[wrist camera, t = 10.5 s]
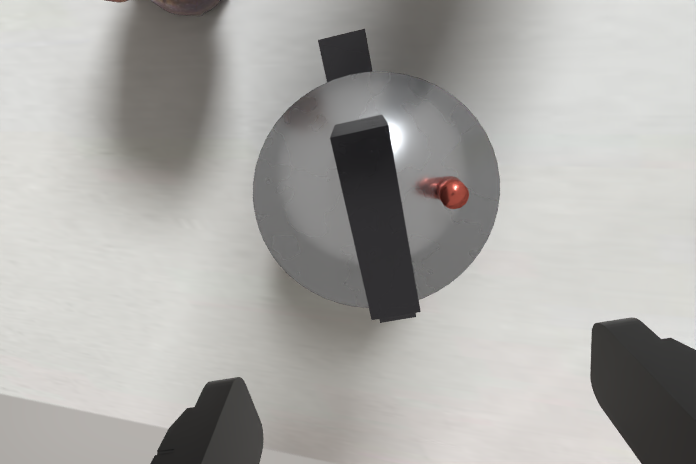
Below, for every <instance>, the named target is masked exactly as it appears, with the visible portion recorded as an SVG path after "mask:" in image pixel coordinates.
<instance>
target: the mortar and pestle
mask: <svg viewBox="0 0 696 464" xmlns="http://www.w3.org/2000/svg"><path fill="white" fill-rule="evenodd" d="M106 1H112V2H125V1H128V0H106ZM151 1H152V2H154V3H155V4H157V5H158V6H160V7H161V8H163V9H164V10H166V11H168V12H171V13H173V14H178V15H192V16H202V15H203V14H204V13H205V12H207V11H209V10H211V9H213V8H214V7H215V6H216V5H217V4H218V3H219V2H220V1H221V0H151Z"/></svg>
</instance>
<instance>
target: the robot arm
mask: <svg viewBox="0 0 696 464" xmlns="http://www.w3.org/2000/svg"><path fill="white" fill-rule="evenodd" d="M591 384H592V388H593V391H594V394H595V396H596V399H597V401H598V403H599V404H600V406H601V408H602V409H603V411H604V412H605V413H606V415H607V416H608V417H609V419H610V420H611V422H612V423H613V424H614V426H615V427H616V429H617V430H618V431H619V433H620V434H621V436H622V437H623V438H624V440H625V441H626V443H627V444H628V445H629V447H630V448H631V450H632V451H633V452H634V454H635V455H636V456H637V458H638V459H639V461H640V462H641V463H642V464H696V350H694V349H692V348H690V347H688V346H686V345H684V344H682V343H680V342H678V341H676V340H674V339H672V338H667V339H660V338H659V337H658V336H657V335H656V334H655V333H654V332H653V331H651V330H650V329H649V328H648V327H647V326H646V325H645V324H644V323H642V322H641V321H640V320H638V319H637V318H626V319H619V320H613V321H606V322H600V323H595V324H594V326H593V328H592V343H591ZM262 449H263V429H262V424H261V421H260V419H259V416H258V414H257V411H256V409H255V406H254V404H253V401H252V399H251V396H250V394H249V391H248V389H247V386H246V384H245V382H244V380H243V379H242V378H240V377H237V378H230V379H224V380H217V381H211V382H208V383H207V384H206V385H205V387H204V388H203V390H202V392H201V395H200V397H199V399H198V401H197V403H196V405H195V407H193V408H187V409H186V410H185V411H184V412H183V413H182V415H181V416H180V417H179V418H178V419H177V420H176V421H175V422H174V423H173V424H172V426H171V427H170V428H169V429H168V431H167V433H166V435H165V437H164V439H163V441H162V443H161V445H160V447H159V448H158V450H157V452H158V453H157V455H155V456H154V458H153V460H152V462H151V464H259V462H260V458H261V454H262Z"/></svg>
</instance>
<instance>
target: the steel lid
mask: <svg viewBox="0 0 696 464" xmlns="http://www.w3.org/2000/svg"><path fill="white" fill-rule="evenodd" d="M499 197H500V178H499V171H498V164H497V160H496V157H495V154H494V150H493V147H492V145H491V143H490V141H489V138H488V136H487V134H486V132H485V131H484V129H483V128H482V126H481V125H480V123H479V121H478V120H477V119H476V117H475V116H474V115H473V114H472V113H471V112H470V111H469V110H468V108H467V107H466V106H465V105H464V104H462V103H461V102H460V101H459V100H458V99H456V98H455V97H454V96H453V95H451V94H450V93H448V92H447V91H445V90H443V89H442V88H440V87H439V86H437V85H434V84H432V83H430V82H427V81H425V80H423V79H420V78H416V77H413V76H409V75H405V74H399V73H391V72H364V73H358V74H351V75H347V76H344V77H341V78H338V79H334V80H332V81H330V82H328V83H326V84H323V85H321V86H319V87H317V88H315V89H314V90H312V91H311V92H309V93H307V94H306V95H304V96H303V97H301V98H300V99H299V100H298V101H297V102H296V103H294V104H293V105H292V106H291V107H290V108H289V109H288V110H287V111H286V112H285V113H284V114H283V115H282V117H281V118H280V119H279V120H278V121H277V122H276V124H275V125H274V127H273V129H272V130H271V132H270V133H269V135H268V136H267V138H266V141H265V143H264V145H263V147H262V149H261V151H260V155H259V158H258V161H257V164H256V169H255V175H254V181H253V202H254V210H255V216H256V219H257V223H258V227H259V230H260V232H261V235H262V237H263V240H264V242H265V244H266V245H267V247H268V249H269V251H270V253H271V254H272V255H273V257H274V258H275V260H276V261H277V262H278V264H279V265H280V266H281V267H282V268H283V269H284V270H285V271H286V272H287V273H288V274H289V275H290V276H291V277H292V278H293V279H294V280H296V281H297V282H298V283H299V284H301V285H302V286H304V287H305V288H307V289H308V290H310V291H312V292H313V293H315V294H317V295H320V296H322V297H324V298H326V299H329V300H332V301H334V302H337V303H341V304H345V305H350V306H356V307H365V308H369V310H370V314H371V319H372V320H375V319H381V318H387V317H393V316H399V315H405V314H411V313H417V312H420V306H419V299H422V298H425V297H427V296H429V295H431V294H433V293H435V292H437V291H439V290H440V289H442V288H443V287H445V286H446V285H448V284H450V283H451V282H452V281H453V280H454V279H456V278H457V277H458V276H459V275H461V274H462V273H463V272H464V271H465V270H466V269H467V267H468V266H469V265H470V264H471V263H472V262H473V261H474V259H475V258H476V257H477V255H478V254H479V253H480V251H481V250H482V248H483V246H484V244H485V243H486V241H487V239H488V237H489V235H490V232H491V230H492V228H493V225H494V222H495V218H496V214H497V211H498V204H499Z"/></svg>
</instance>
